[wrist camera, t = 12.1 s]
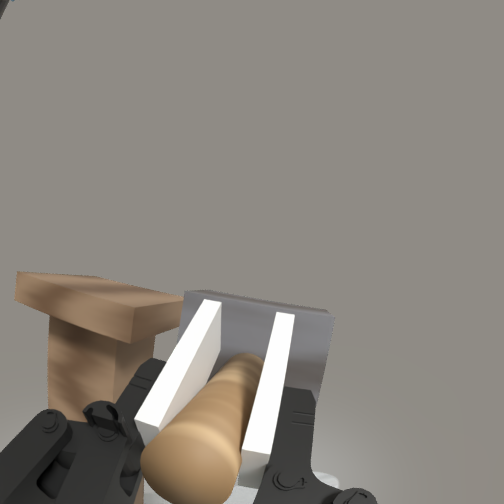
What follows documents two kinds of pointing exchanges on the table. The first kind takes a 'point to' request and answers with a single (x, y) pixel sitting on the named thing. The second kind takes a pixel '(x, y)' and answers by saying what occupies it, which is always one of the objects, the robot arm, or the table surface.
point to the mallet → (230, 396)
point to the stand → (95, 335)
